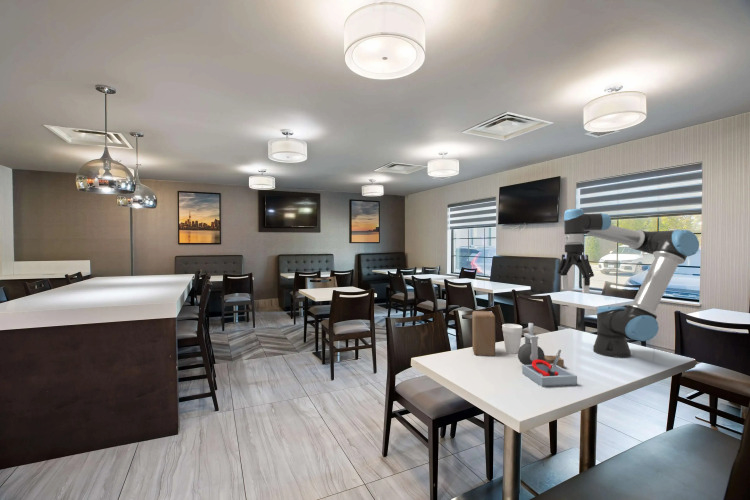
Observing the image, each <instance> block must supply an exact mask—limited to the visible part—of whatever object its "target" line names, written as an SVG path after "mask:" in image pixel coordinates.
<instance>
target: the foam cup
mask: <svg viewBox="0 0 750 500" xmlns="http://www.w3.org/2000/svg"><path fill="white" fill-rule="evenodd" d="M501 326H502V328H501V330H502V335H503V340H504V349H505V352H506V353H508V354H513V355H516V354H517V355H518V351H519V348H520V347H521V340H522V335H523V326H522V325H520V324H516V323H503V324H502V325H501Z"/></svg>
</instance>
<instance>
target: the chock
mask: <svg viewBox="0 0 750 500" xmlns="http://www.w3.org/2000/svg"><path fill="white" fill-rule="evenodd" d="M544 355H545V354H544ZM555 357H556V355H545V358H544V361H546V362H548V363H549V364H553V362H554V360H555ZM564 360H565V359H563V358H562V357H561V356H560V357H559V359H558V362H557V364H556V365H557V366H559V367H561V368H563V369H565V362H564Z"/></svg>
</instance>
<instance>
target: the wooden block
mask: <svg viewBox="0 0 750 500" xmlns="http://www.w3.org/2000/svg"><path fill="white" fill-rule="evenodd" d="M471 318H472V327H471V328H472V335H471V336H472V351H473V355H475V356H483V357H484V356H487V357H490V356H491V357H494V356H495V355H496V316H495V314H494V313H493V312H492V311H486V310H485V311H484V310H483V311H482V310H481V311H479V310H473V311H472V317H471Z"/></svg>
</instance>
